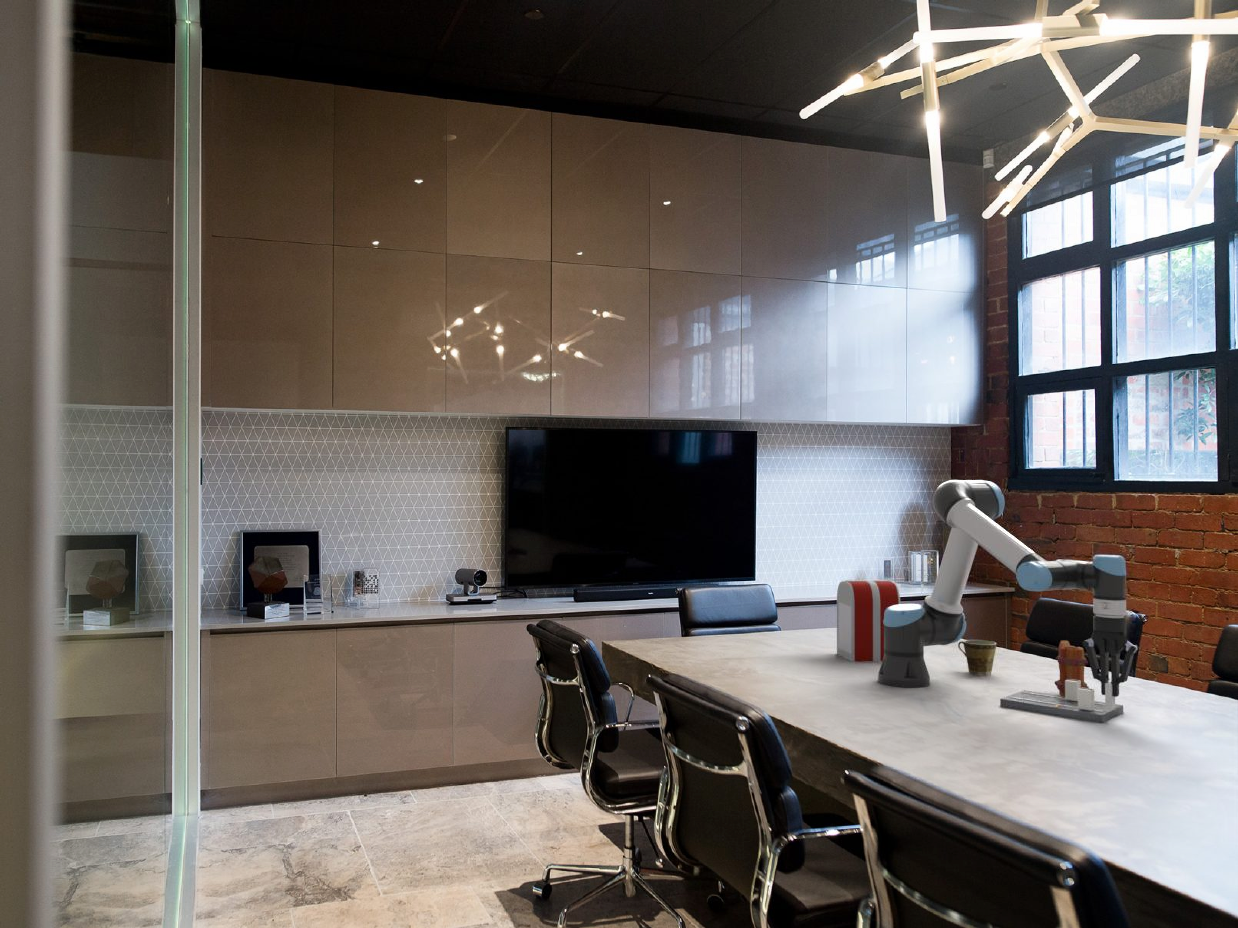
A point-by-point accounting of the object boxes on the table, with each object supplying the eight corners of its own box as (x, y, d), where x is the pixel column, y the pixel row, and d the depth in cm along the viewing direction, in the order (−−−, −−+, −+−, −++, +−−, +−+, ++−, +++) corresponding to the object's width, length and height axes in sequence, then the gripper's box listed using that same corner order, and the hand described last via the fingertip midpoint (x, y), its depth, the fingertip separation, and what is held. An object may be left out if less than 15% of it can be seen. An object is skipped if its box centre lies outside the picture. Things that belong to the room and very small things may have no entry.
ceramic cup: (1003, 674, 304) (1003, 642, 304) (984, 677, 298) (983, 645, 298) (967, 667, 314) (967, 637, 315) (948, 670, 309) (948, 640, 309)
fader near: (1078, 708, 246) (1077, 688, 246) (1082, 706, 248) (1082, 686, 248) (1090, 710, 244) (1090, 689, 244) (1094, 708, 246) (1094, 688, 246)
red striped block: (835, 653, 341) (835, 578, 342) (883, 652, 343) (883, 577, 344) (852, 661, 325) (852, 582, 325) (901, 661, 327) (901, 582, 327)
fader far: (1065, 699, 257) (1065, 679, 257) (1069, 697, 259) (1069, 678, 259) (1076, 700, 255) (1076, 681, 255) (1080, 699, 257) (1080, 679, 257)
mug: (1092, 701, 264) (1091, 647, 265) (1060, 700, 266) (1060, 646, 266) (1077, 690, 279) (1077, 639, 279) (1048, 689, 280) (1047, 638, 281)
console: (1000, 705, 258) (1000, 697, 258) (1024, 697, 269) (1024, 689, 269) (1102, 722, 240) (1102, 713, 240) (1123, 712, 251) (1123, 704, 251)
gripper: (1077, 614, 244) (1078, 706, 244) (1132, 619, 235) (1133, 715, 235) (1087, 611, 250) (1088, 702, 249) (1142, 616, 240) (1142, 710, 240)
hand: (1110, 708), depth 242 cm, fingers closed
